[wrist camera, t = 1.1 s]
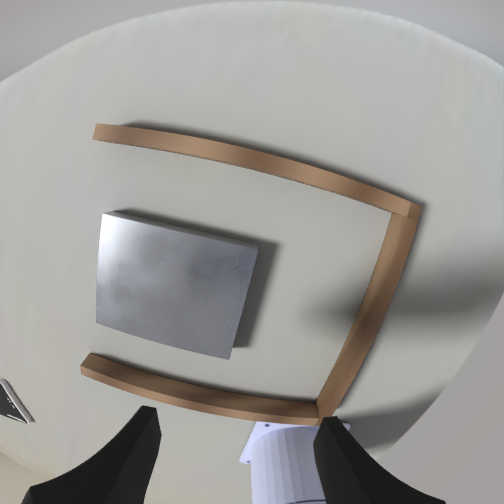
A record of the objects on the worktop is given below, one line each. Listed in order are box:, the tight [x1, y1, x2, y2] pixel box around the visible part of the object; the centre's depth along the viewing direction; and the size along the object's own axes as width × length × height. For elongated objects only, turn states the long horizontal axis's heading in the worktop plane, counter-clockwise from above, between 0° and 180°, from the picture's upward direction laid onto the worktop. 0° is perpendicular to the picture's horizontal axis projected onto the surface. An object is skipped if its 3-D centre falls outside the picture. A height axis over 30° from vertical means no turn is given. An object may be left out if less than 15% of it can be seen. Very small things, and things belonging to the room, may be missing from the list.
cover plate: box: [96, 211, 258, 360], centre depth 18 cm, size 10×8×2 cm
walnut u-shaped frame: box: [80, 124, 422, 426], centre depth 18 cm, size 21×19×2 cm
